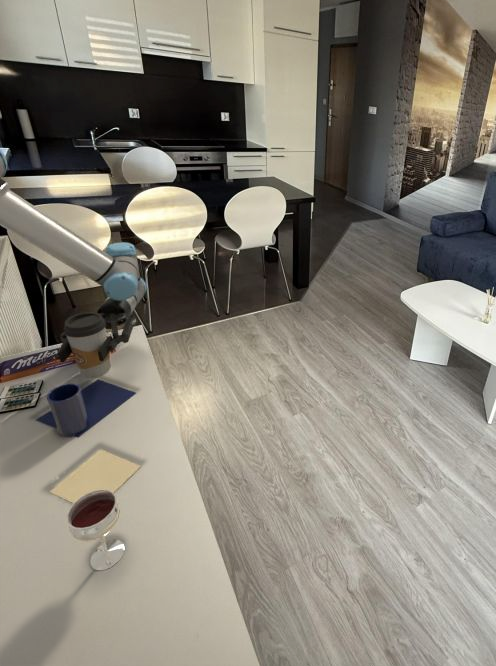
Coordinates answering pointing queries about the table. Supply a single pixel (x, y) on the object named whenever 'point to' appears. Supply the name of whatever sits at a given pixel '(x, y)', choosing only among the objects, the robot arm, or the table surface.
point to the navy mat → (97, 402)
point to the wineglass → (97, 525)
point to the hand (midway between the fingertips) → (80, 356)
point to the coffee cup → (87, 343)
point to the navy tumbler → (68, 409)
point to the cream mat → (96, 476)
